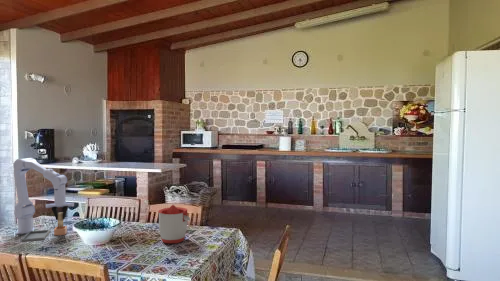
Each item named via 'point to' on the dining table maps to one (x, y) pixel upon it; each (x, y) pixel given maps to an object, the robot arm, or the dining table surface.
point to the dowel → (60, 219)
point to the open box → (60, 230)
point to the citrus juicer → (173, 224)
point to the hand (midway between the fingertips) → (60, 219)
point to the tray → (35, 235)
